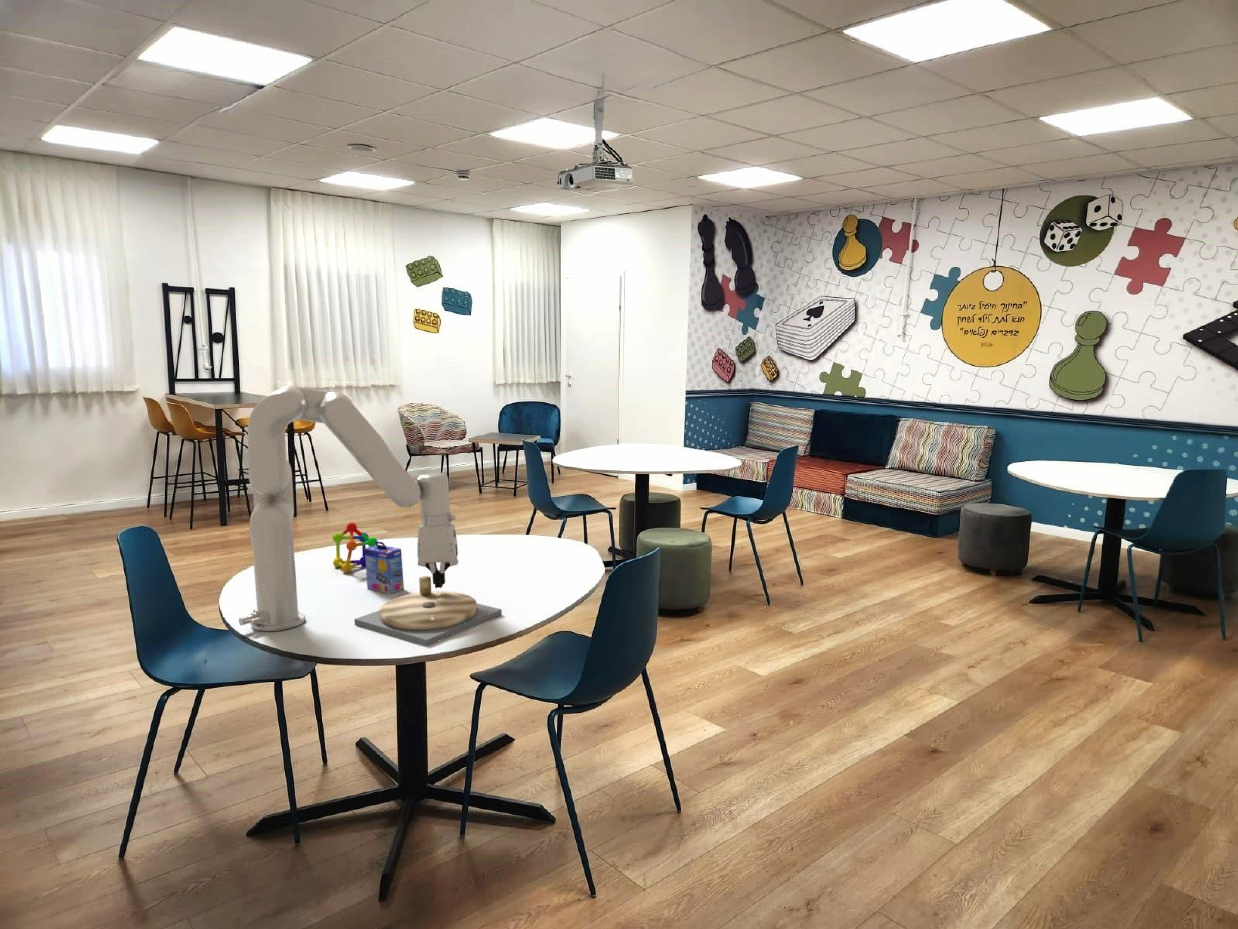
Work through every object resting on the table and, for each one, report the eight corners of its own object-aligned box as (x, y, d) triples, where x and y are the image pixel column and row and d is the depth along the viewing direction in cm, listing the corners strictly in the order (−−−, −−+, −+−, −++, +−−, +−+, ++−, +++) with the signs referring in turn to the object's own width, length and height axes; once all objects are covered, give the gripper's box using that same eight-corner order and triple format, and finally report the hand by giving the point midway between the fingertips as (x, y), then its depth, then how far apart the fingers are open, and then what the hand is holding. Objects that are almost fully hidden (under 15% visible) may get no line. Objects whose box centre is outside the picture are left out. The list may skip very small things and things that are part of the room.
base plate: (426, 646, 191) (426, 639, 191) (354, 624, 205) (354, 618, 205) (501, 614, 212) (501, 608, 212) (431, 597, 227) (431, 591, 226)
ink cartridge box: (365, 589, 234) (363, 540, 232) (380, 584, 239) (377, 536, 237) (390, 594, 229) (387, 544, 227) (404, 589, 234) (402, 540, 232)
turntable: (482, 623, 201) (482, 598, 200) (381, 634, 194) (380, 608, 193) (470, 594, 223) (469, 572, 222) (379, 603, 216) (378, 580, 215)
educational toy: (385, 570, 257) (385, 524, 254) (348, 579, 248) (347, 532, 244) (358, 557, 267) (358, 513, 264) (322, 565, 258) (321, 520, 254)
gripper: (466, 516, 219) (469, 581, 222) (410, 517, 219) (414, 582, 222) (461, 522, 212) (464, 590, 215) (404, 523, 212) (408, 591, 214)
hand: (439, 586), depth 218 cm, fingers closed
